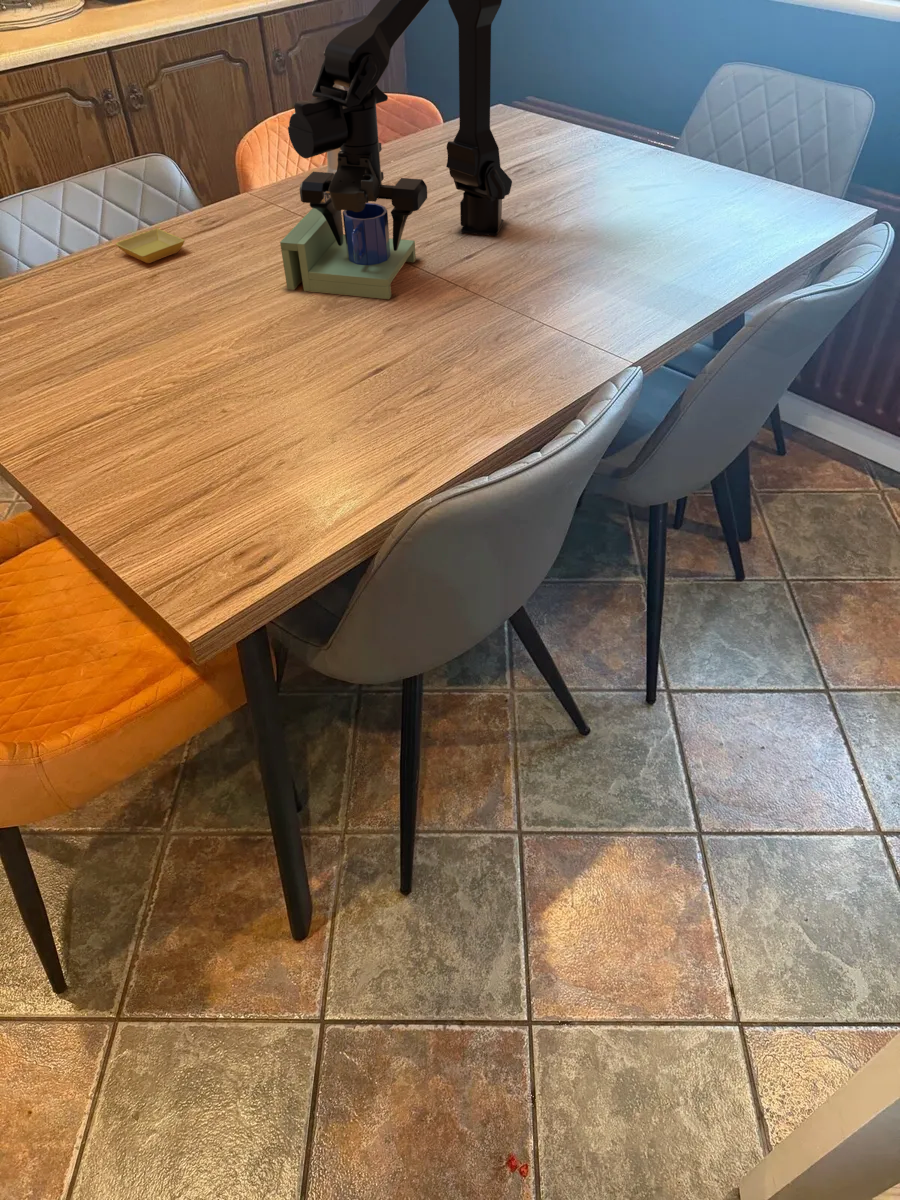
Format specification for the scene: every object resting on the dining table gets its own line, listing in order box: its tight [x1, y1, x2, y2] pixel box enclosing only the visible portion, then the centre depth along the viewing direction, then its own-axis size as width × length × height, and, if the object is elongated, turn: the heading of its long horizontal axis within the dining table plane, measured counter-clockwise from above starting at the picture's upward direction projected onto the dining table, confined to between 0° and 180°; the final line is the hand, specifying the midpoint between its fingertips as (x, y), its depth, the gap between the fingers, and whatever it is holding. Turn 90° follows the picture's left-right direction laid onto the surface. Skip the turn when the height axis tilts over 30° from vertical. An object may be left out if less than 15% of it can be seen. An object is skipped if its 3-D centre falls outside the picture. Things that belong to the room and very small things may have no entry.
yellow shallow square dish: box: [115, 228, 186, 264], centre depth 147 cm, size 9×9×2 cm
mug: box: [342, 202, 390, 265], centre depth 134 cm, size 7×9×7 cm
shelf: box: [279, 208, 417, 300], centre depth 137 cm, size 17×15×8 cm
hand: (368, 247), depth 136 cm, fingers open, 9 cm apart
